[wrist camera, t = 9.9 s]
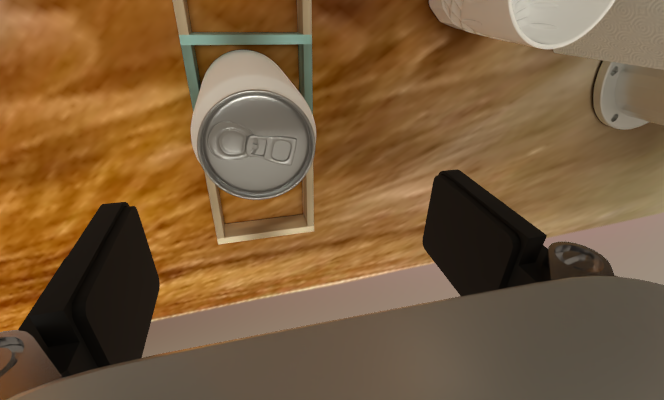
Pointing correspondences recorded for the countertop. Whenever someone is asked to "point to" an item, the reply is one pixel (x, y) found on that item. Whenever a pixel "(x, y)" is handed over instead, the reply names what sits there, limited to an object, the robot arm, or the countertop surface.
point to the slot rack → (304, 41)
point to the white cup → (524, 19)
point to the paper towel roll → (625, 35)
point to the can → (252, 127)
